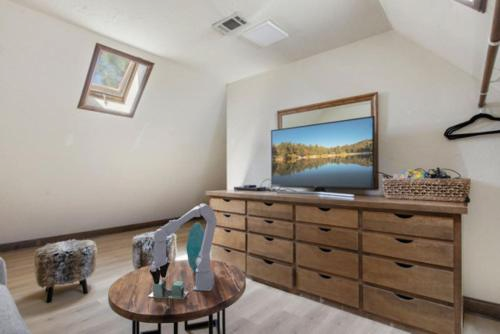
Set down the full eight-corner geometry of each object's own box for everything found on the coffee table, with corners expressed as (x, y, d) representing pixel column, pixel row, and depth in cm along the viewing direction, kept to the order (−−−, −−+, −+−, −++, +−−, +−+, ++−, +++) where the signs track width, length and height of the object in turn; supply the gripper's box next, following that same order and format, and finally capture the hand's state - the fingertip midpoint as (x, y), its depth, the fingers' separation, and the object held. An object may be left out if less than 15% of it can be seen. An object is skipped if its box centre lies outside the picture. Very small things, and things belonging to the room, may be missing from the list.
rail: (188, 292, 132) (188, 280, 132) (183, 299, 125) (183, 286, 125) (154, 290, 134) (155, 279, 134) (148, 297, 127) (148, 284, 127)
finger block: (166, 291, 133) (166, 280, 133) (161, 295, 128) (161, 284, 128) (157, 290, 133) (157, 279, 133) (152, 295, 128) (153, 284, 128)
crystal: (207, 275, 154) (208, 224, 155) (184, 275, 154) (184, 224, 155) (210, 268, 166) (211, 220, 167) (189, 267, 166) (189, 220, 167)
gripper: (159, 248, 138) (159, 274, 138) (145, 257, 124) (145, 286, 124) (171, 249, 138) (171, 275, 137) (159, 258, 123) (159, 287, 123)
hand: (160, 280), depth 130 cm, fingers open, 7 cm apart
